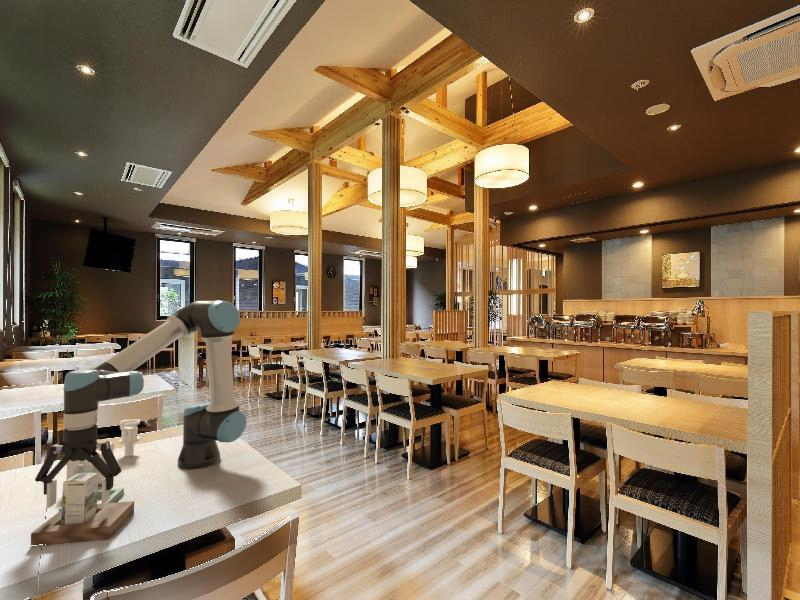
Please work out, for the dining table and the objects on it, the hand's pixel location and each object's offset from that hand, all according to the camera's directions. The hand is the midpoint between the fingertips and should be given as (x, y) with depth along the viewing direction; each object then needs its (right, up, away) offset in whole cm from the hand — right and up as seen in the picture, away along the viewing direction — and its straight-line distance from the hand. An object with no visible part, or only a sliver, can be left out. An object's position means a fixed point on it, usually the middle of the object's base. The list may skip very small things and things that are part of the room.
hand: (78, 503), depth 110 cm
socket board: (+2, -7, 0) cm, 7 cm away
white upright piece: (-24, -8, +55) cm, 61 cm away
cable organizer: (-20, -8, +30) cm, 37 cm away
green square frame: (-7, -7, +14) cm, 17 cm away
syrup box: (0, -7, 0) cm, 7 cm away
